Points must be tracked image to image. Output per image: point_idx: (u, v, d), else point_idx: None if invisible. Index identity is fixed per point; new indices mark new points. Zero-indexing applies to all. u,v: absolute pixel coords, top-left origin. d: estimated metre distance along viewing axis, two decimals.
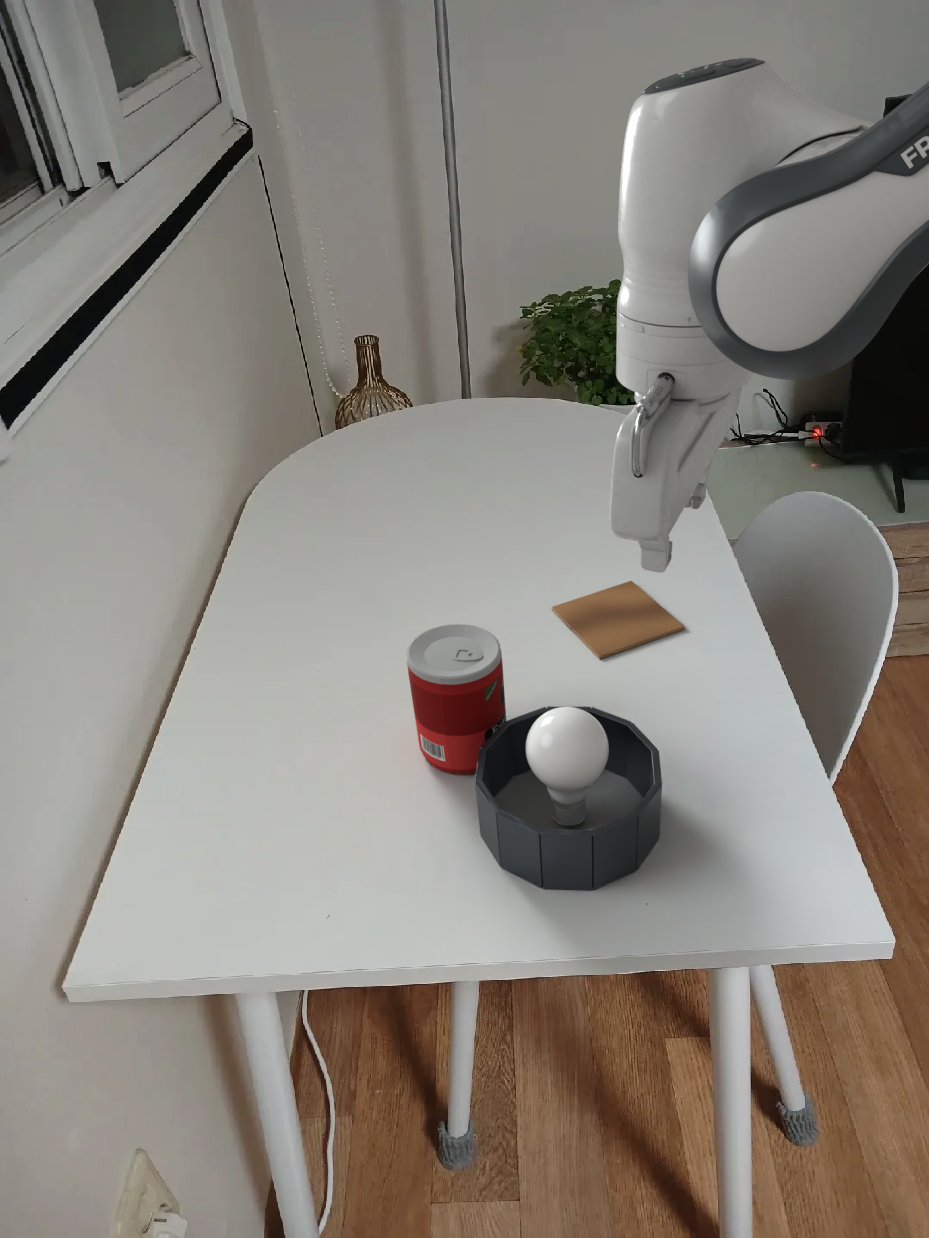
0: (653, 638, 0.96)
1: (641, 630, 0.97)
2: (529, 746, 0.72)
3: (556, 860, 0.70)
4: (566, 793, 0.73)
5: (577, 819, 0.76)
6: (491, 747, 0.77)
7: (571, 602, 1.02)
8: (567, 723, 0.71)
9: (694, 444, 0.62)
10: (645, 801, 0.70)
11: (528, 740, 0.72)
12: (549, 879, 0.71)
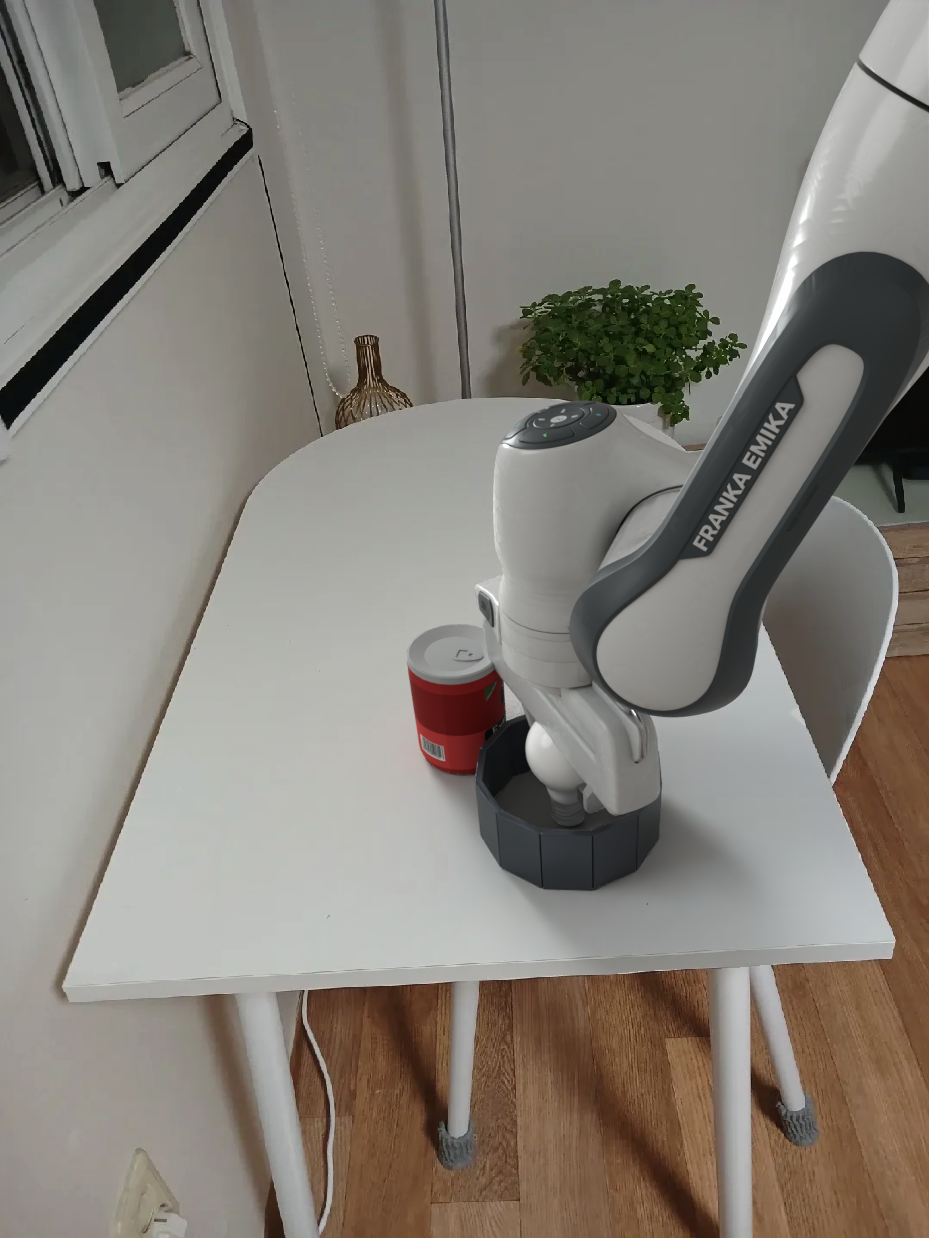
0: None
1: None
2: (528, 746, 0.72)
3: (556, 860, 0.70)
4: (566, 793, 0.73)
5: (577, 819, 0.76)
6: (491, 747, 0.77)
7: None
8: None
9: None
10: None
11: (528, 740, 0.72)
12: (549, 879, 0.71)
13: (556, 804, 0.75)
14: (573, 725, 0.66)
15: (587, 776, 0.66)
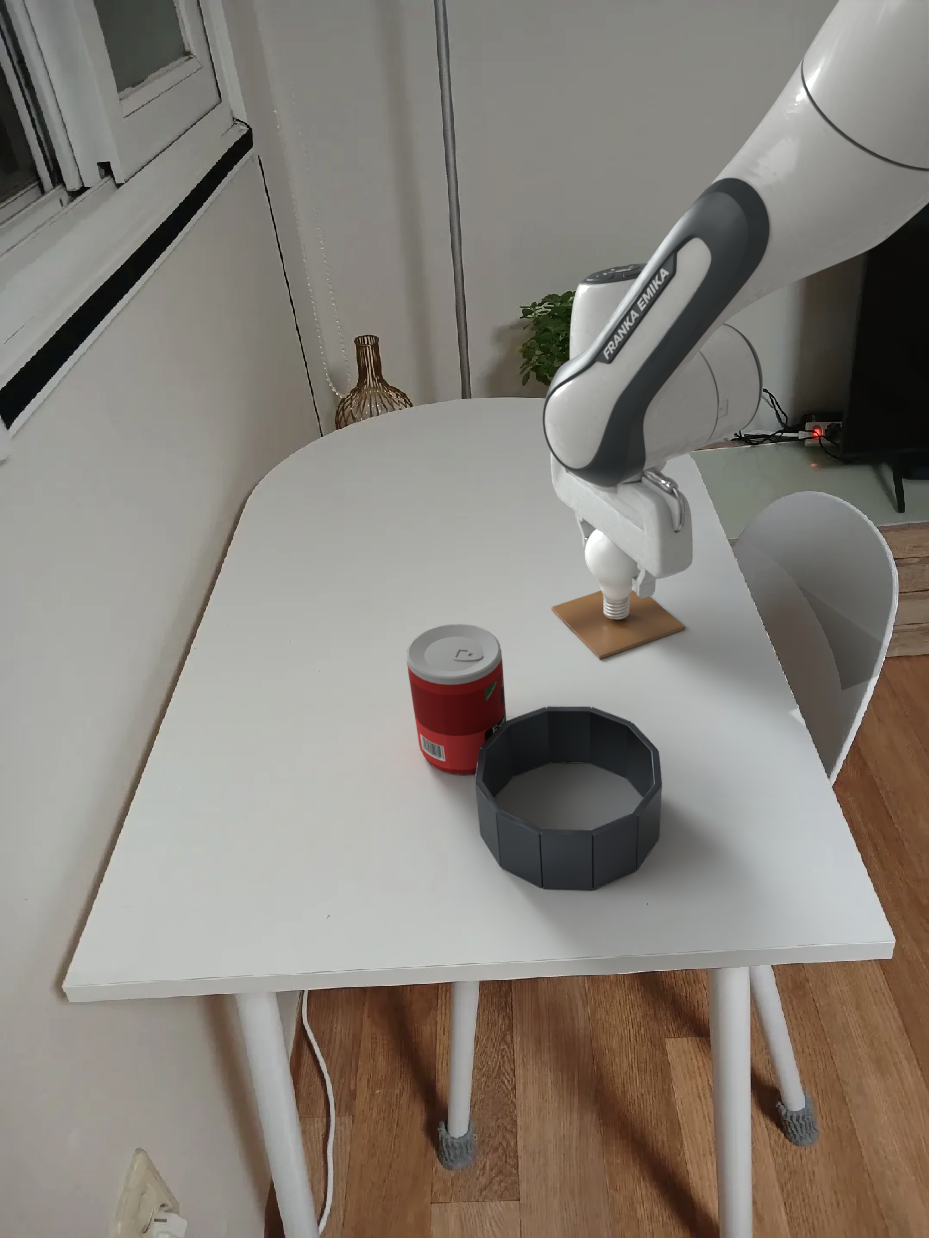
0: (653, 638, 0.96)
1: (641, 630, 0.97)
2: (588, 549, 0.94)
3: (556, 860, 0.70)
4: (616, 587, 0.95)
5: (623, 613, 0.98)
6: (491, 747, 0.77)
7: (571, 602, 1.02)
8: None
9: None
10: (645, 801, 0.70)
11: (587, 545, 0.94)
12: (549, 879, 0.71)
13: (607, 600, 0.97)
14: (626, 515, 0.88)
15: (637, 553, 0.87)
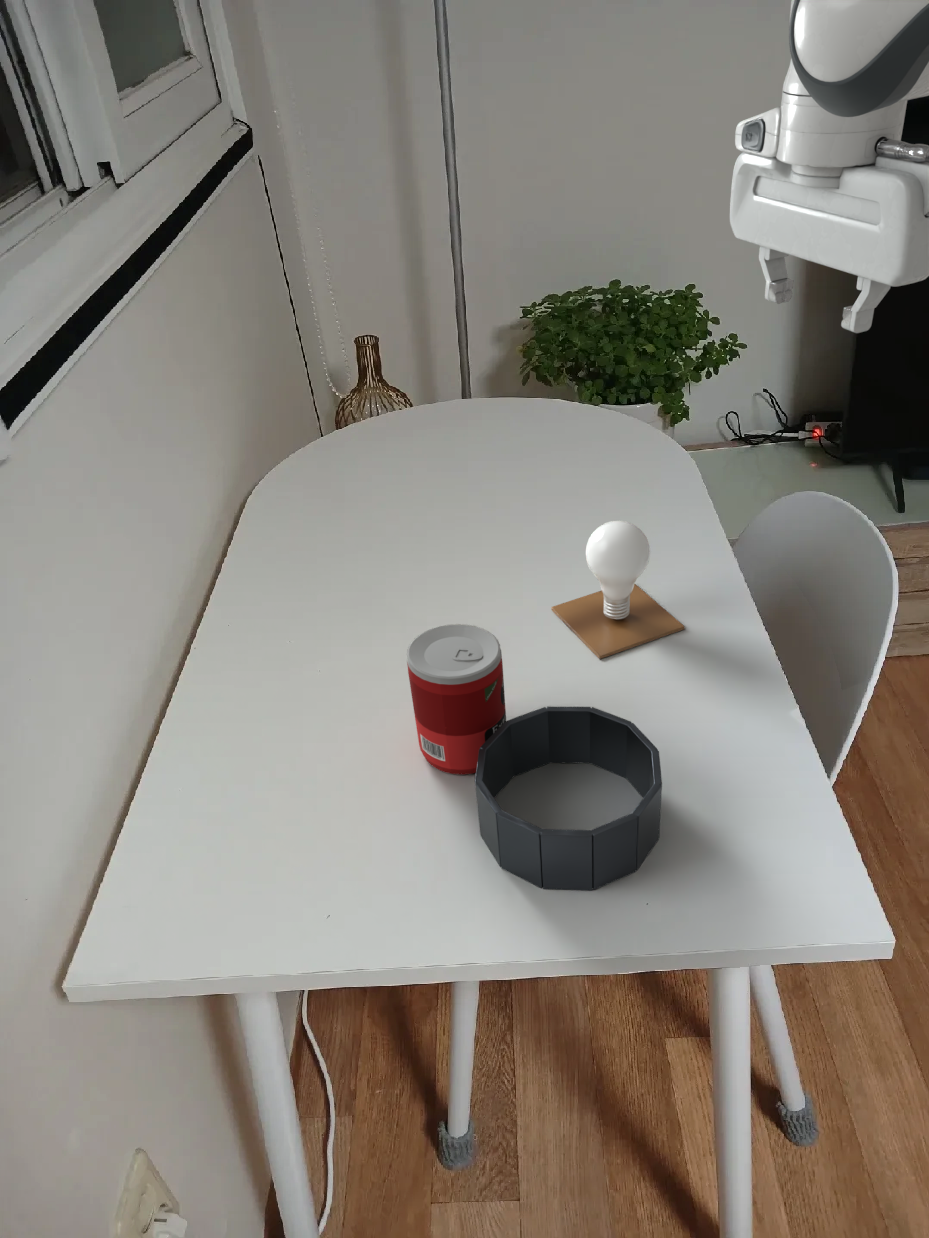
0: (653, 638, 0.96)
1: (641, 630, 0.97)
2: (588, 548, 0.94)
3: (556, 860, 0.70)
4: (616, 587, 0.95)
5: (623, 613, 0.98)
6: (491, 747, 0.77)
7: (571, 602, 1.02)
8: (619, 528, 0.92)
9: None
10: (645, 801, 0.70)
11: (588, 544, 0.94)
12: (549, 879, 0.71)
13: (608, 600, 0.97)
14: (850, 216, 0.71)
15: (864, 260, 0.71)
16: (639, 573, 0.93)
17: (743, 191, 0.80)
